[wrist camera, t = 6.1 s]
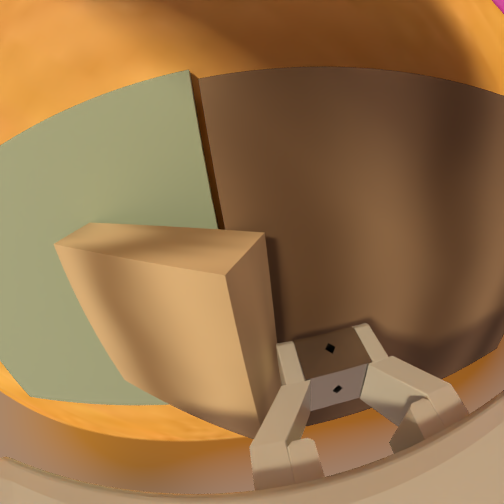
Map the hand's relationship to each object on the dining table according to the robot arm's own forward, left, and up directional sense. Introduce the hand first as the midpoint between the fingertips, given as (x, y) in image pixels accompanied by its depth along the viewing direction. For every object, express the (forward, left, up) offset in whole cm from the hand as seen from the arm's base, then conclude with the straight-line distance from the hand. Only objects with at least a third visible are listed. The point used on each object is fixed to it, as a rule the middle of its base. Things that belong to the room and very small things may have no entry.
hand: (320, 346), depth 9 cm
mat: (+13, 0, -5) cm, 14 cm away
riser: (-6, 0, -5) cm, 8 cm away
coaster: (+5, 0, -3) cm, 5 cm away
